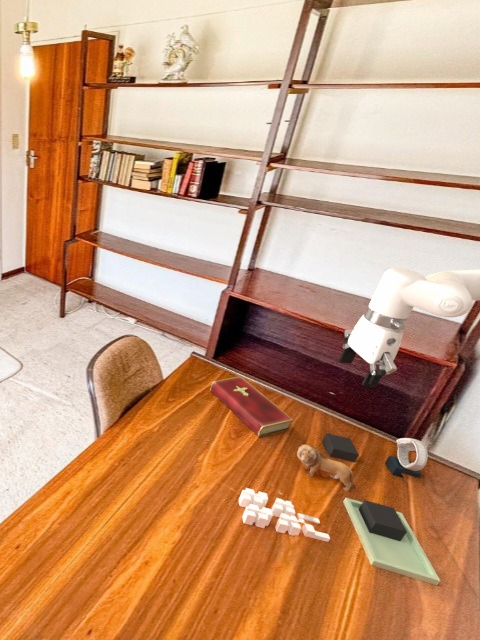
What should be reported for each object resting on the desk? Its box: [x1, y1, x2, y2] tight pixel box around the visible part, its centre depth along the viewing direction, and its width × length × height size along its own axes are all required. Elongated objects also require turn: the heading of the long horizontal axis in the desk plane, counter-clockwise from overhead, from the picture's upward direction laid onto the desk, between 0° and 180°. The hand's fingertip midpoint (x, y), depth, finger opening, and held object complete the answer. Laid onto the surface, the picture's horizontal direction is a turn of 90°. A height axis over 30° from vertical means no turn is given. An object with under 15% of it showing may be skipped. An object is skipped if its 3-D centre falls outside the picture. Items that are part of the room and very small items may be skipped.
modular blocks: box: [238, 487, 331, 543], centre depth 92 cm, size 20×7×4 cm, turn 75°
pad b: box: [321, 432, 360, 463], centre depth 112 cm, size 6×6×4 cm
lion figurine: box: [296, 444, 356, 493], centre depth 103 cm, size 15×5×9 cm, turn 68°
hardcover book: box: [209, 375, 294, 438], centre depth 126 cm, size 12×21×4 cm, turn 16°
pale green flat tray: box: [343, 497, 441, 586], centre depth 90 cm, size 12×16×2 cm
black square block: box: [359, 499, 407, 541], centre depth 92 cm, size 6×6×4 cm
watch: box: [384, 437, 429, 479], centre depth 105 cm, size 6×8×11 cm
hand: (356, 373), depth 104 cm, fingers open, 9 cm apart
